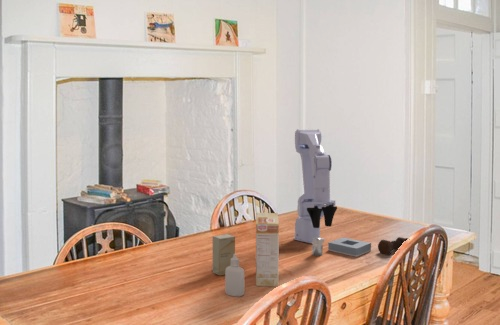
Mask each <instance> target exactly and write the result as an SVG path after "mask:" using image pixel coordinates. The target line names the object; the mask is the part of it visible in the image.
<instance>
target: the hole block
mask: <svg viewBox="0 0 500 325" xmlns="http://www.w3.org/2000/svg"><path fill="white" fill-rule="evenodd" d="M327 248H328V251H329V252H334V253H337V254H342V255H345V256H346V255H347V256H351V257H357V258H358V257H359V256H362V255H365V254H367V253H369V252H371V251H372V242H367V241H363V240H359V239H353V238H350V237H343V236H342V237H339V238H336V239H335V240H332V241H329V242H328V247H327Z"/></svg>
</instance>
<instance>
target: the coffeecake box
mask: <svg viewBox="0 0 500 325" xmlns="http://www.w3.org/2000/svg"><path fill="white" fill-rule="evenodd" d="M255 216H256V217H255V218H256V220H255V286H256V287H279V278H280V277H279V276H280V275H279V273H280V272H279V269H280V268H279V266H280V264H279V261H280V260H279V258H280V257H279V256H280V255H279V254H280V253H279V252H280V251H279V250H280V249H279V248H280V247H279V246H280V245H279V244H280V241H279V240H280V239H279V236H280V234H279V231H280V230H279V225H280V224H279V222H280V221H279V214H278V213H277V212H256V215H255Z"/></svg>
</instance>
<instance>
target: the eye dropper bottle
mask: <svg viewBox="0 0 500 325" xmlns="http://www.w3.org/2000/svg"><path fill="white" fill-rule="evenodd" d="M224 276H225V277H224V278H225V280H224V283H225V284H224V287H225V294H227V295H228V296H231V297H239V298H240V297H243V296H244V295H245V269H244V268H242V267H241V266H240V258H239V257H237V253H235V254H234V255H233V258H231V266H228V267H227V268H226V270H225V275H224Z"/></svg>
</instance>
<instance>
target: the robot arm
mask: <svg viewBox="0 0 500 325" xmlns="http://www.w3.org/2000/svg"><path fill="white" fill-rule="evenodd" d="M321 143H322V132H321V129H296V130H295V132H294V146H295V152H296V153H298V154H300V160H301V168H302V169H301V170H302V171H301V172H302V182H303V184H302V185H303V194H301V196H299V197H298V199H297V215H298V217H297V218H296V220H295V223H294V238H293V240H295V241H299V242H303V243H308V244H312V245H313V238H314V237H321V219H322V218H324V219H323V220H324V226H325V227H332V224H333V219H334V216H335V214H336V211H337V210H338V206H336V200H331V194H330V193H331V188H330V187H331V186H330V184H331V182H330V181H331V180H330V178H331V177H330V176H331V174H330V171H331V170H332V156H331V154H327V153H326V150H325V149H324V147H323V146H322V145H321ZM322 238H323V237H322ZM324 240H325V238H323V241H324Z"/></svg>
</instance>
